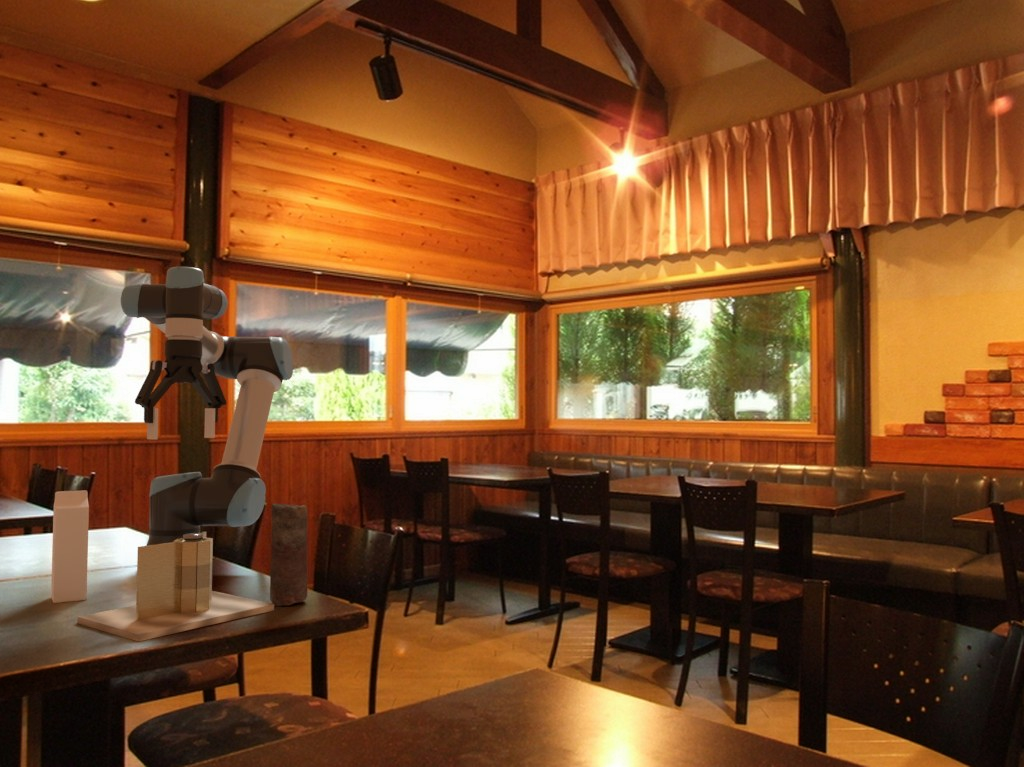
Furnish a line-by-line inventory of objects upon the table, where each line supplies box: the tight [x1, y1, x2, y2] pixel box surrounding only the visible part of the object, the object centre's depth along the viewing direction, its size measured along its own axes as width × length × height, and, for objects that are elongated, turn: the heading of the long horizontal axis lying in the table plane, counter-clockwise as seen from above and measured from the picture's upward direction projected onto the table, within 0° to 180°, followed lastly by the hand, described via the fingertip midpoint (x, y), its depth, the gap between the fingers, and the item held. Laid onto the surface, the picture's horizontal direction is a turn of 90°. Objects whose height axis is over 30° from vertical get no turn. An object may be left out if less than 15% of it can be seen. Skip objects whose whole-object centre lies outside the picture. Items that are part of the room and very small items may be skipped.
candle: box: [269, 503, 309, 607], centre depth 170 cm, size 8×7×20 cm
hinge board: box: [76, 590, 275, 642], centre depth 158 cm, size 28×20×1 cm
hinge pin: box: [183, 532, 203, 542], centre depth 159 cm, size 4×4×14 cm
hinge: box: [136, 531, 214, 620], centre depth 159 cm, size 19×11×13 cm, turn 144°
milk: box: [50, 489, 90, 604], centre depth 172 cm, size 6×6×22 cm
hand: (181, 438), depth 179 cm, fingers open, 13 cm apart
